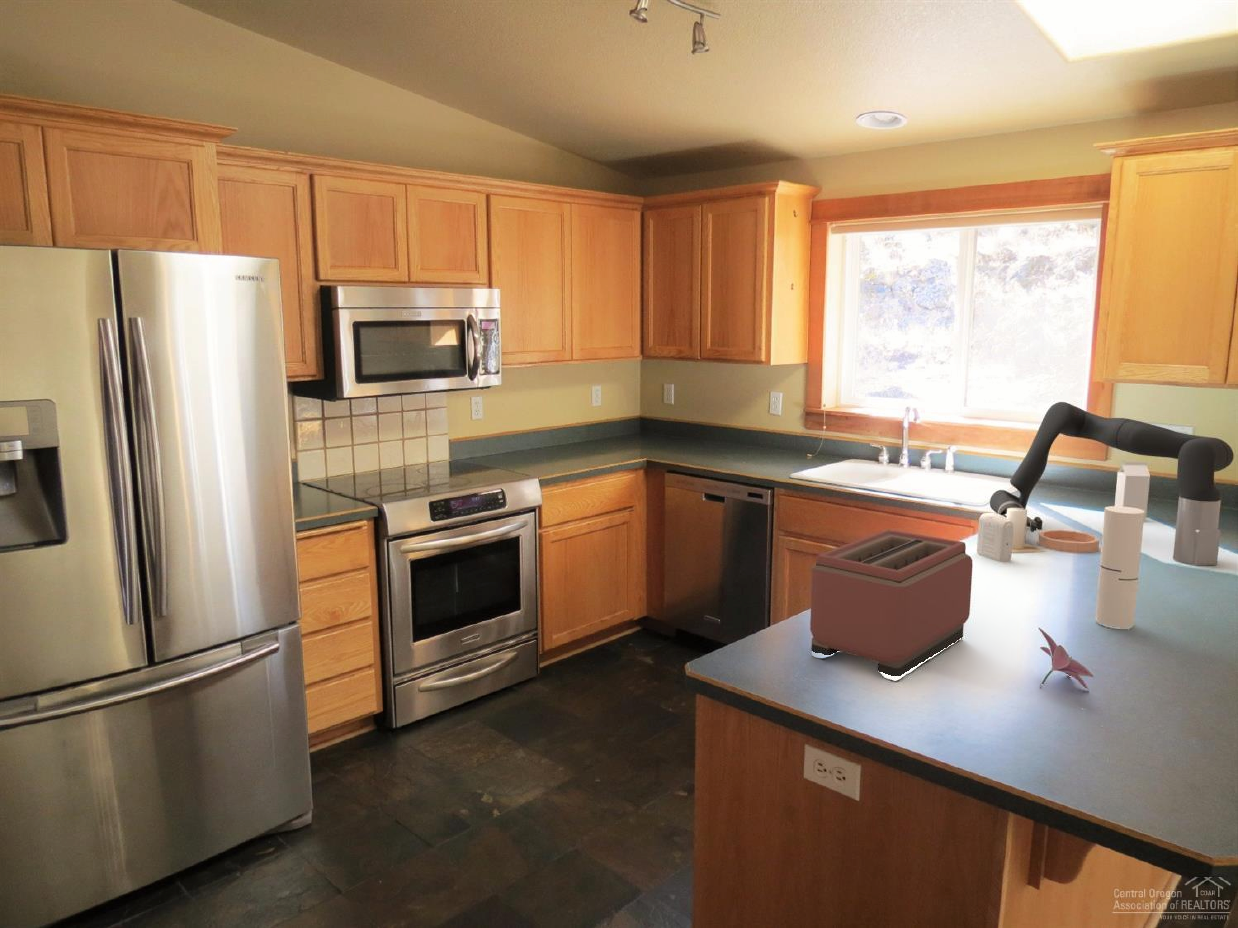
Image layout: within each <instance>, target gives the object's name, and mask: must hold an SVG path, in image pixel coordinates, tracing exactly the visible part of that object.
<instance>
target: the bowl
mask: <svg viewBox="0 0 1238 928" xmlns="http://www.w3.org/2000/svg"><path fill="white" fill-rule="evenodd" d="M1037 543H1038V545H1039V546H1040V547H1043V548H1045V549H1049V550H1053V551H1058V552H1063V553H1064V552H1065V553H1074V554H1075V553H1076V554H1078V553H1079V554H1083V553H1094V552H1096V551H1097V552H1099V551H1098V550H1099V548H1100V538H1099V537H1098V536H1096V535H1094V534H1092V533H1087V532H1083V531H1082V532H1081V531H1077V530H1065V529H1046V530H1041V531H1039V532H1038V541H1037Z"/></svg>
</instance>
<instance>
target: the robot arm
mask: <svg viewBox="0 0 1238 928" xmlns="http://www.w3.org/2000/svg"><path fill="white" fill-rule="evenodd" d="M1060 435H1064V436H1065V437H1072V438H1079V439H1086V440H1092V441H1094V442H1095V441H1096V442H1099V443H1101V444H1103V445H1105V446H1108V447H1110V448H1114V449H1115V450H1118V451H1122V452H1126V453H1130V454H1135V455H1139V456H1145V457H1146V456H1147V457H1156V458H1158V457H1159V458H1168V459H1169V458H1170V459H1174V460H1177V468H1176V469H1177V470H1176V485H1177V488H1178V491H1179V496H1178V503H1177V504H1178V505H1177V513H1176V522H1175V534H1174V545H1173V555H1172V559H1173V558H1174V559H1173V560H1175V561H1177V562H1179V561H1180V563H1183V564H1188V563H1191V564H1190V565H1193V564H1194V565H1193V566H1214V565H1215V566H1216V565H1218V559H1219V558H1218V557H1219V549H1220V539H1221V532H1222V531H1221V530H1220V529H1219V521H1220V520H1219V519H1220V513H1221V512H1220V511H1221V502H1222V495H1223V492H1222V489H1221V488H1220V487H1217V486H1216V484H1215V473H1216V472H1220V471H1222V470H1224V469H1226V468H1227V467H1229V466H1230V465H1232V463H1233V461H1234V458H1235V457H1234V456H1235V455H1234V451H1233V449H1232V447H1231V446H1230V445H1229V444H1228V443H1227V442H1225V440H1222V439H1220V438H1217V437H1209V436H1203V435H1194V434H1189V433H1183V432H1178V431H1175V430H1172V429H1169V428H1166V427H1162V426H1158V425H1154V424H1152V423H1147V422H1144V421H1140V420H1135V419H1131V418H1126V417H1125V418H1124V417H1104V416H1100V415H1097V414H1094V413H1091V412H1088V411H1086V410H1084V409H1082V408H1080V407H1077V406H1075V405H1073V404H1071V403H1068V402H1066V401H1058V402H1056V403H1054V404H1052V405H1051V406H1050V407H1049V408H1048V409H1047V411H1046V413H1045V415H1044V417H1043V419H1042V421H1041V424H1040V425H1039V427H1038V430H1037V432H1036V434H1035V436H1034V438H1033V441H1032V443H1031V445H1030V446H1029V450H1028V451H1027V453H1026V455H1025V456H1024V458H1023V459H1022V462H1021V463H1020V464H1019V466H1018V467H1017V469H1016V470H1015V472H1014V474H1013V475H1012V477H1011V478H1010V481H1009V482H1010V485H1011V486H1012V487H1014V488H1015V489H1016V490H1017V491H1018V492H1019V497H1018V496H1016V495H1015V494H1013V493H1011V492H1009V491H1007V490H1005V489H1000V490H996V491H995V492H994V493H993V494H992V495H991V496H990V499H989V507H990V508H991V510H992V511H994V513H996V514H1000V515H1002V516H1004V517H1006V518H1007V508H1023V509H1026V510H1027V504H1028V501H1029V498H1030V496H1031V493H1032V492H1033V489H1034V488H1035V487H1036V485H1037V484H1038V482H1039V480H1040V479H1041V478H1042V476H1043V475H1044V473H1045V470H1046V467H1047V463H1048V459H1049V454H1050V450H1051V449H1052V446H1053V443H1054V441H1056V439H1057V438H1058V436H1060ZM1043 522H1044V521H1043V519H1041V517H1039V516H1035V517H1034V518H1032V517H1029V516H1027V521H1026V530H1030V532H1031V533H1034V532H1036V531H1037V530H1038V531H1043Z"/></svg>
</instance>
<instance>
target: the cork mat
mask: <svg viewBox="0 0 1238 928" xmlns="http://www.w3.org/2000/svg"><path fill="white" fill-rule="evenodd" d="M1030 553H1033V554H1034V553H1047V551H1045V550H1044V549H1041V548H1039V547H1037V546H1034V545H1032V544H1031V543H1028V542H1026V541H1025V548H1024V549H1012V554H1030Z"/></svg>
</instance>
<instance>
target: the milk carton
mask: <svg viewBox="0 0 1238 928" xmlns="http://www.w3.org/2000/svg"><path fill="white" fill-rule="evenodd" d="M1150 480H1151V475H1150V471H1149V468H1148V461H1122V463H1121V466H1120V467H1119V469H1118V470H1117V474H1116V489H1115V497H1114V499H1115V500H1114V506H1123V507H1132V508H1137V509H1141V510H1143V511H1144V521H1143V522H1146V521H1147V513H1148V501H1149V492H1150V490H1149V489H1150Z"/></svg>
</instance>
